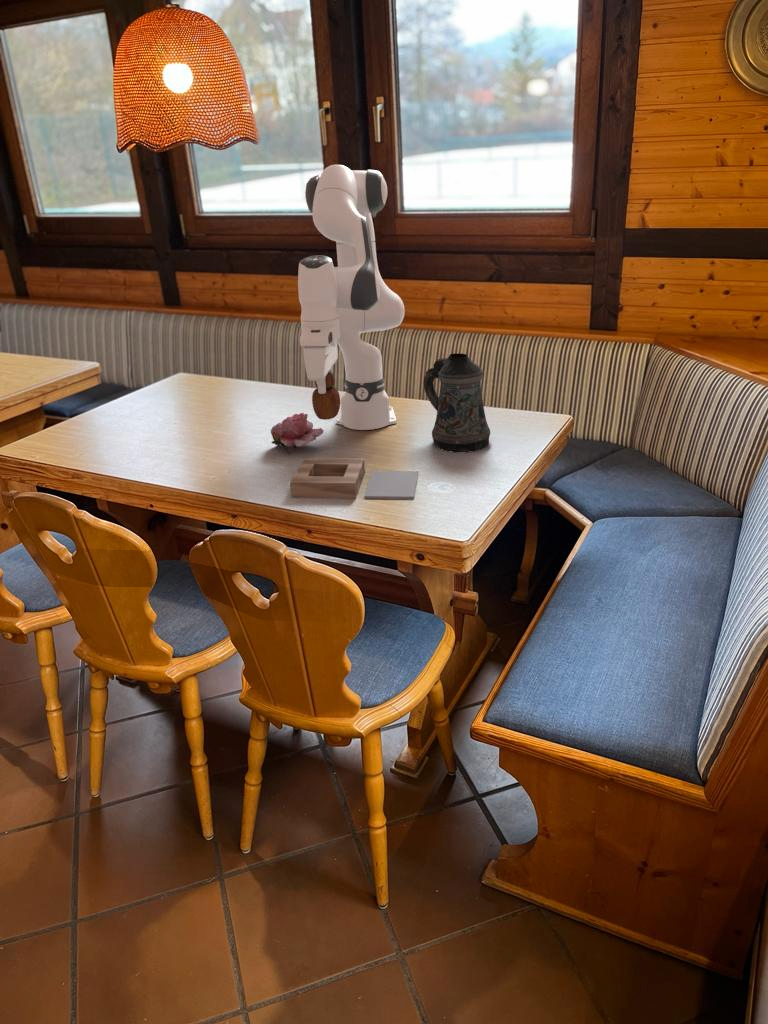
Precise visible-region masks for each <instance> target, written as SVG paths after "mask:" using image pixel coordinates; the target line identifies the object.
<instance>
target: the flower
mask: <svg viewBox="0 0 768 1024" xmlns="http://www.w3.org/2000/svg"><path fill="white" fill-rule="evenodd" d="M308 417H309V416H308V413H304V412H301V413H298V414H297V413H294V414H292V416H287V417H286V418H285V419H283V420H282V421H281V422H277V424H275V425H273V426H272V427H271V429H270V435H271V437H272V440H273V441H271V444H273V445H276V446H281V447H283V448H284V449H285V451H286V452H287V453H288V454H290V452H289V450H288V448H287V447H293V446H294V448H295V449H296V448H299V447H300V448H301V447H304V446H305V445H307V444H309V443H311V442H313V441H316V440H317V438H318V437H320V436H321V435H323V434H324V429H323V428H322V427H319V428H314V423H313V422H311V421H309V420H308Z"/></svg>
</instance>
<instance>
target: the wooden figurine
mask: <svg viewBox="0 0 768 1024" xmlns="http://www.w3.org/2000/svg"><path fill="white" fill-rule="evenodd" d="M325 378H326V379H325V383H326V387H327V391H326V393H325V394H320V393H318V386H317V383H316V381H314V385H315V387H316V389H314V390H313V392H312V394H311V395H312V396H311V401H312V408H313V411H314V415H315V416H316V417H317V418H318V419H319V420H332V419H334V418H336V417H337V416H338V414H339V411H340V410H341V395H340V393H339V390H338V389H337V388H336V387H335V386H334V385H335V382H336V381H335V375H334V374H333V372H332V373H331V372H328V374H327V375H326V377H325Z"/></svg>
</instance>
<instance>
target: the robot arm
mask: <svg viewBox="0 0 768 1024" xmlns="http://www.w3.org/2000/svg"><path fill="white" fill-rule="evenodd" d="M387 199H388V186H387V182H386V180H385V177H384V175H383V174H382V173H381V172H380V171H379V170H375V169H366V170H358V169H357V170H356V169H355V170H351V169H350V168H349V167H347V166H345V165H343V164H331V165H329V166H327V167H326V168H324V170H322V173H321V174H318V175H317V174H316V175H315V176H312V177H310V178H309V180H308V181H307V182H306V185H305V191H304V200H305V203H306V205H307V208H308V211H309V212H310V213H311V214H312V221H313V223H314V226H315V228H316V229H317V230H318V232H319V233H320V234H322V236H324V237H325V238H327V239H329V240H331V241H333V242H336V243H335V244H336V255H337V258H336V260H337V266H334V263H333V262H334V261H333V260H332V258H331V257H329V256H327V255H310V256H307V257H304V258H302V259H301V260H300V261H299V263H298V270H297V271H298V275H297V279H298V280H297V293H298V295H297V296H298V301H299V303H300V305H301V306H300V307H301V308H300V309H301V312H300V313H301V314H300V324H301V325H300V330H301V331H300V337H299V346H300V347H301V348H302V347H303V350H302V351H303V359H304V367H305V373H306V376H307V379H308V381H312V382H315V381H316V383H317V386H318V393H320V394H325V393H326V391H327V387H326V383H325V379H326V378H325V377H326V375H327V374H328V372H331V373H333V366H334V365H335V363H336V362H337V361H338V357H339V355H338V353H339V351H338V350H339V349H338V347H339V348H340V350H341V353H342V357H343V361H344V362H343V363H344V371H345V378H344V391H345V393H344V394H343V395H342V396H340V416H339V417H338V418H337V419H336V424H338V425H341V426H343V427H345V428H347V429H351V430H358V431H368V430H369V431H370V430H375V429H376V430H378V429H380V428H381V429H382V428H384V427H386V426H390V425H394V424H397V423H398V421H397V417H396V414H395V411H394V407H393V406H391V405H390V398H389V396H388V394H387V392H386V391H385V389H386V388H385V383H386V382H385V378H384V376H383V361H382V360H383V359H382V353H381V351H380V349H379V348H378V347H376V346H375V345H373V344H371V343H368V342H365V341H364V340H362V339H361V334H363V333H372V332H380V331H381V332H383V331H386V330H391V329H395V328H397V327H399V326H400V325H401V324H402V322H403V320H404V318H405V313H406V312H405V311H406V309H405V305H404V302H403V300H402V297H400V296H399V295H398V294H397V293H396V292H394V291H393V290H391V289H390V288H389V287H388V285H387V284H386V283H385V282H384V280H383V278H382V276H381V273H380V270H379V265H378V259H377V247H376V235H375V228H374V227H375V226H374V222H373V218H375V217H377V214H378V213H379V212H381V211H382V210H383V208H384V207H385V206H386V202H387Z"/></svg>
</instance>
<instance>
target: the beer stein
mask: <svg viewBox="0 0 768 1024" xmlns="http://www.w3.org/2000/svg"><path fill="white" fill-rule="evenodd" d="M483 376H484V370H483V369H482V368H481V367H480V366H479V365H478V364H476V363H475V362H473V361H472V360H471V359H470V358H469V355H468V354H466V353H457V352H456V353H450V354H449V355H448V357H445V358H438V359H436V361H435V362H434V363H433V366H432V367H431V368H429V369H427V371H426V372H425V375H424V376H423V377H424V378H423V389H424V392H425V394H426V397H427V399H428V401H429V402H430V404H431V406H432V407H433V409H435V411H436V417H435V423H434V425H433V429H432V431H431V438H432V442H433V445H434V444H435V445H434V446H435V448H437V447H438V448H437V449H439V448H440V449H439V450H441V449H443V450H442V451H444V450H445V452H449V451H452V452H451V453H459V452H465V453H470V452H469V451H473V452H477V451H480V450H483V449H482V448H484V449H485V448H486V447H488V446H489V445H490V436H491V429H490V427H489V425H488V422H487V418H486V412H485V407H484V400H483V393H482V385H481V383H482V382H481V381H482V378H483ZM435 379H438V380H439V382H440V387H439V394H437V391H436V389H435V386H434V381H435ZM488 444H489V445H488ZM479 449H480V450H479ZM476 450H477V451H476Z"/></svg>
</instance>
